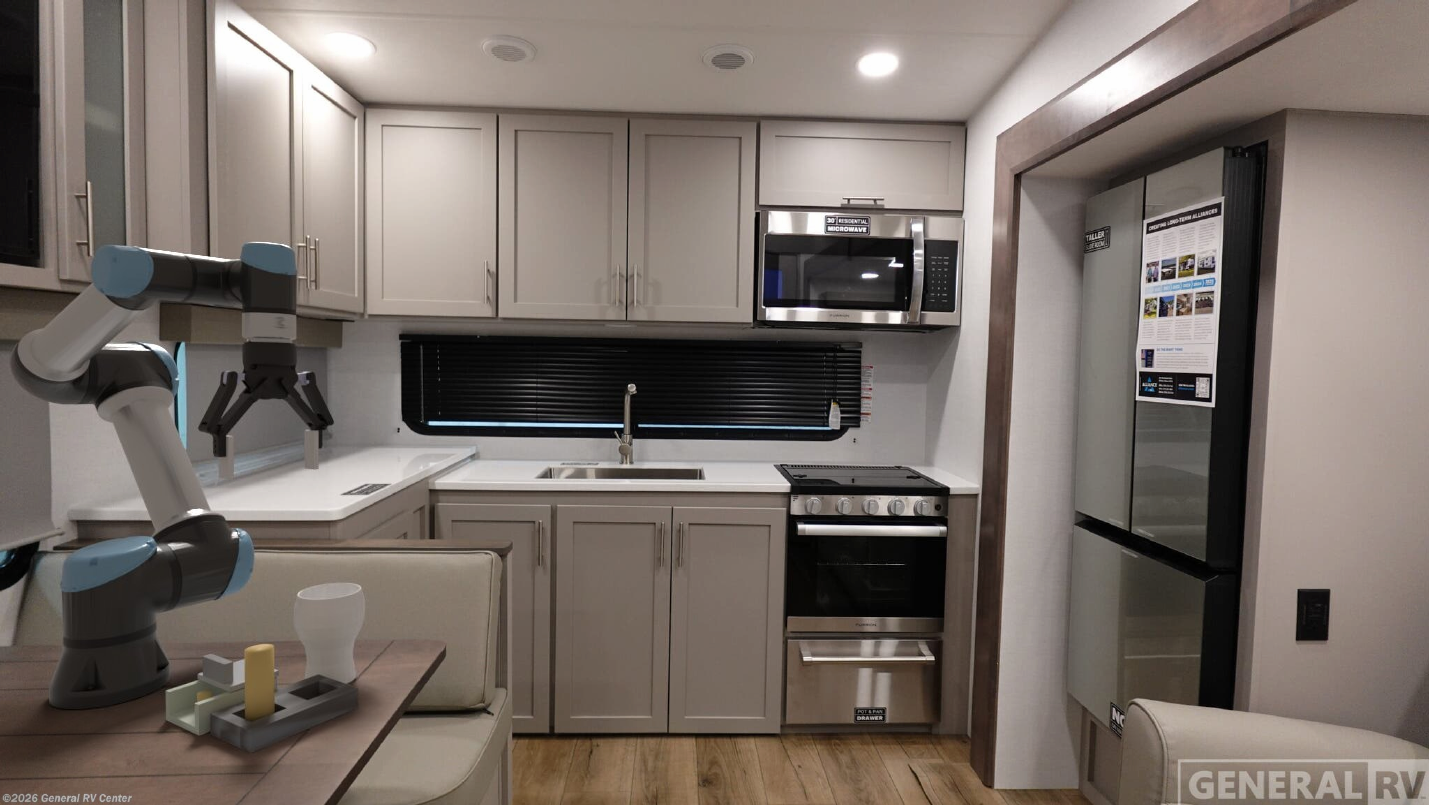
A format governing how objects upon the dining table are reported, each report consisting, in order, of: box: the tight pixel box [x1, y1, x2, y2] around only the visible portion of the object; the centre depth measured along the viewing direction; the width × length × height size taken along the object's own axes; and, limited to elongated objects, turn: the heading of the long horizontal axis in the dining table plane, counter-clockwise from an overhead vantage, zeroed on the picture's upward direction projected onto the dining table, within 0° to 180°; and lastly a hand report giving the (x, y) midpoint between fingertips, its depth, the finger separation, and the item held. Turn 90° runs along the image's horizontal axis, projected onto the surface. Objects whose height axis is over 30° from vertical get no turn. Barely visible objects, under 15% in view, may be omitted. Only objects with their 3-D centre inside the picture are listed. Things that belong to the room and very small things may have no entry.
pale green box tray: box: [165, 676, 278, 736], centre depth 112 cm, size 9×11×4 cm
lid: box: [197, 653, 280, 692], centre depth 113 cm, size 9×7×4 cm
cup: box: [292, 582, 366, 684], centre depth 124 cm, size 11×11×15 cm
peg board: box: [210, 674, 359, 754], centre depth 110 cm, size 10×16×3 cm, turn 151°
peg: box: [243, 643, 275, 722], centre depth 106 cm, size 4×4×12 cm
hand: (271, 473), depth 120 cm, fingers open, 13 cm apart
